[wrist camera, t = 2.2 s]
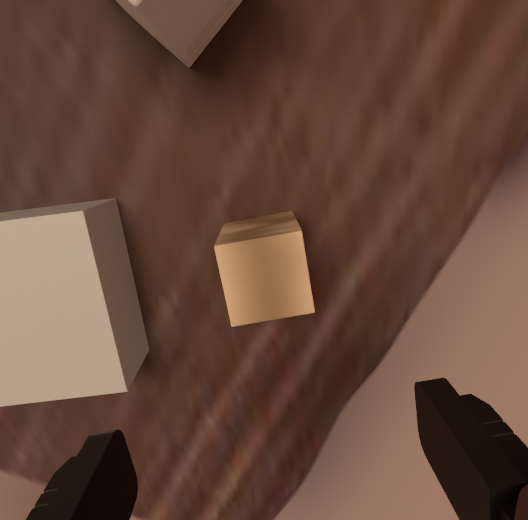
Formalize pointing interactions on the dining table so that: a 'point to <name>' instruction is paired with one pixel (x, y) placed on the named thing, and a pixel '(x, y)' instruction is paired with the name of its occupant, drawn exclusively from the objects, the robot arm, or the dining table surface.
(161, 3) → the supplement box
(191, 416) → the dining table surface
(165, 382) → the dining table surface
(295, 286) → the birch block
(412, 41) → the dining table surface
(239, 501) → the dining table surface
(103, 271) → the flat white box
